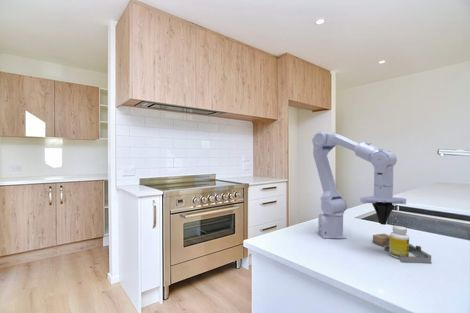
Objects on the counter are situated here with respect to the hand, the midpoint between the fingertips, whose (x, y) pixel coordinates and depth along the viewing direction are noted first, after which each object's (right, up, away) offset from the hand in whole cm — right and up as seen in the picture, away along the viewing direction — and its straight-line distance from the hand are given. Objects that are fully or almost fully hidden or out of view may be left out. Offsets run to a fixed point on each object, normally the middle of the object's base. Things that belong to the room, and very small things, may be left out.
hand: (382, 223), depth 85 cm
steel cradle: (+5, -10, -3) cm, 12 cm away
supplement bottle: (+3, -10, -4) cm, 11 cm away
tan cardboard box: (+5, -10, +8) cm, 13 cm away
